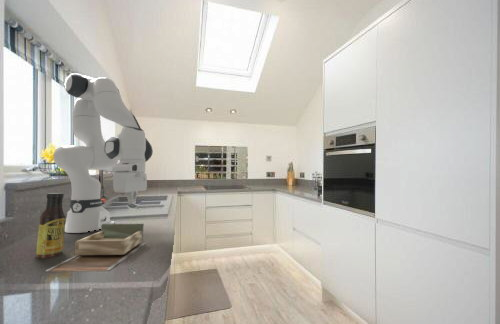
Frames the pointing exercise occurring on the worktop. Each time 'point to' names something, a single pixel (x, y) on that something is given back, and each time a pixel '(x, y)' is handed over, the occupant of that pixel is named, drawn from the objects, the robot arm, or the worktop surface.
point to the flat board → (92, 262)
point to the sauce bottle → (51, 227)
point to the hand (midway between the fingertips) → (131, 203)
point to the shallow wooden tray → (111, 240)
